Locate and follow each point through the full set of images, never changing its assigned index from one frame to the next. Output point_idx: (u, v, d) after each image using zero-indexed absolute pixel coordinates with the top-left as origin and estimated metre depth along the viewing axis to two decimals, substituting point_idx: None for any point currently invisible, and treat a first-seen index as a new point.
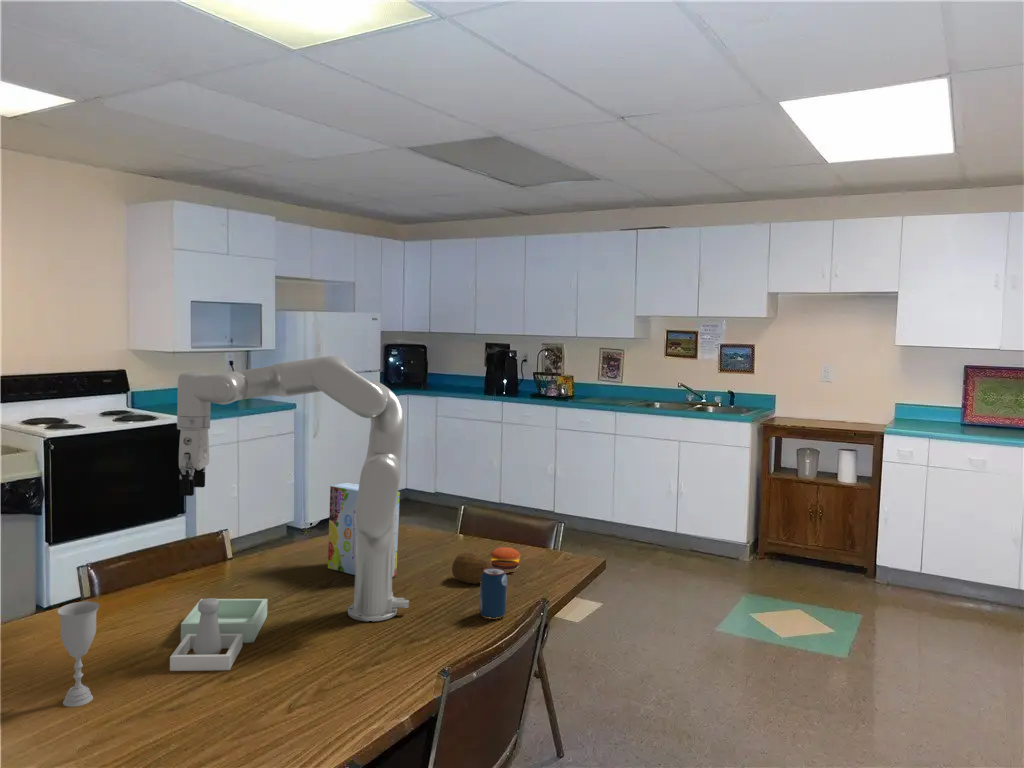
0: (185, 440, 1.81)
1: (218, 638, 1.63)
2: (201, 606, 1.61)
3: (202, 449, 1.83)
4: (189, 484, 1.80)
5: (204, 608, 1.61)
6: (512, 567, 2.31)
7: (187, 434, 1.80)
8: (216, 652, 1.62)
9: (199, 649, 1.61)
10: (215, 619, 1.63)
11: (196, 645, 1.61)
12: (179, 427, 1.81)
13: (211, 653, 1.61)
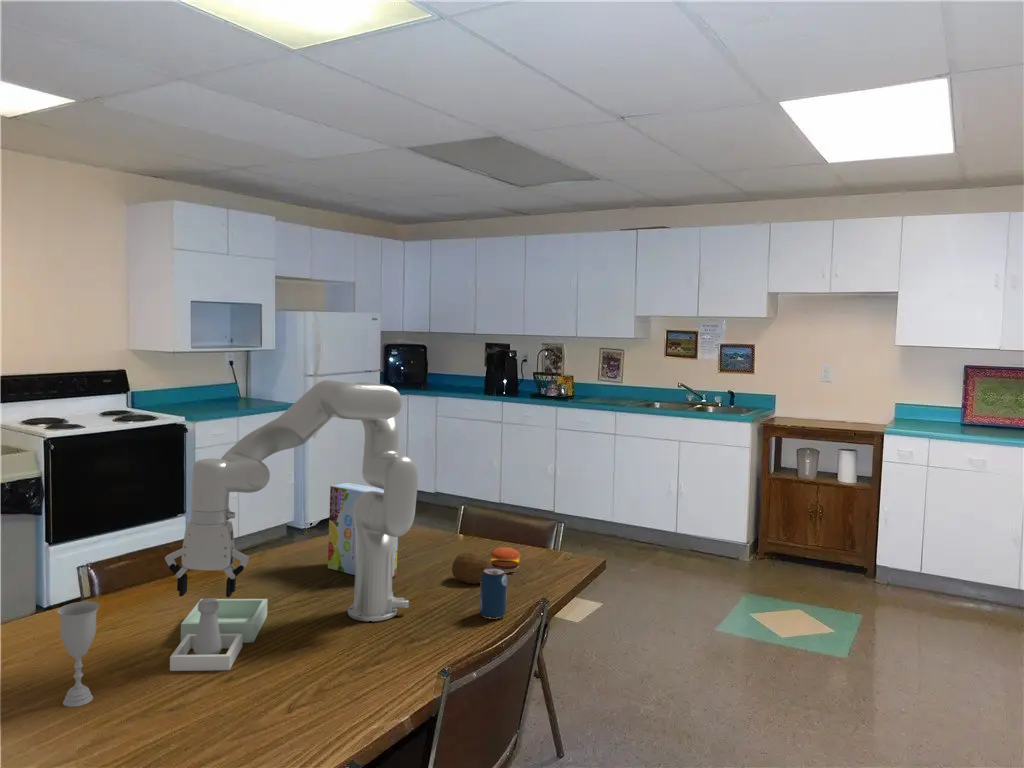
0: None
1: (218, 638, 1.63)
2: (201, 606, 1.61)
3: None
4: None
5: (204, 608, 1.61)
6: (512, 567, 2.31)
7: (230, 528, 1.62)
8: (216, 652, 1.62)
9: (199, 649, 1.61)
10: (215, 619, 1.62)
11: (196, 645, 1.61)
12: (219, 524, 1.59)
13: (211, 653, 1.61)
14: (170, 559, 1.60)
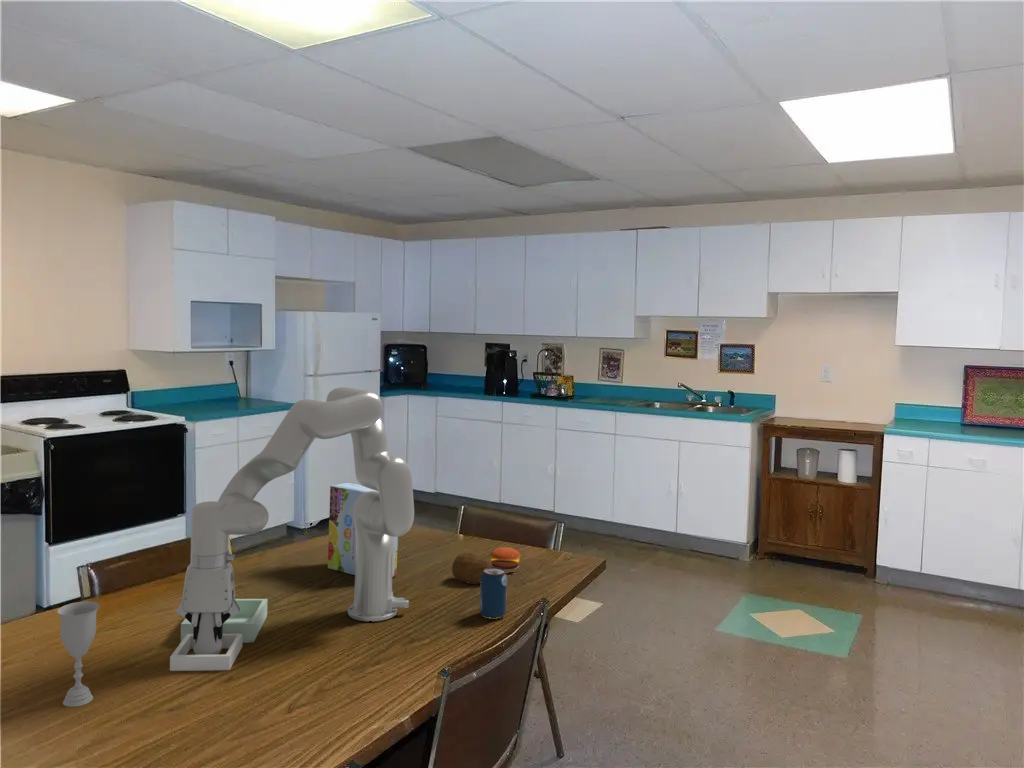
0: None
1: None
2: None
3: None
4: None
5: None
6: (512, 567, 2.31)
7: (230, 570, 1.63)
8: (216, 652, 1.62)
9: (199, 649, 1.61)
10: None
11: (196, 645, 1.61)
12: (219, 567, 1.60)
13: (211, 653, 1.61)
14: (181, 611, 1.61)
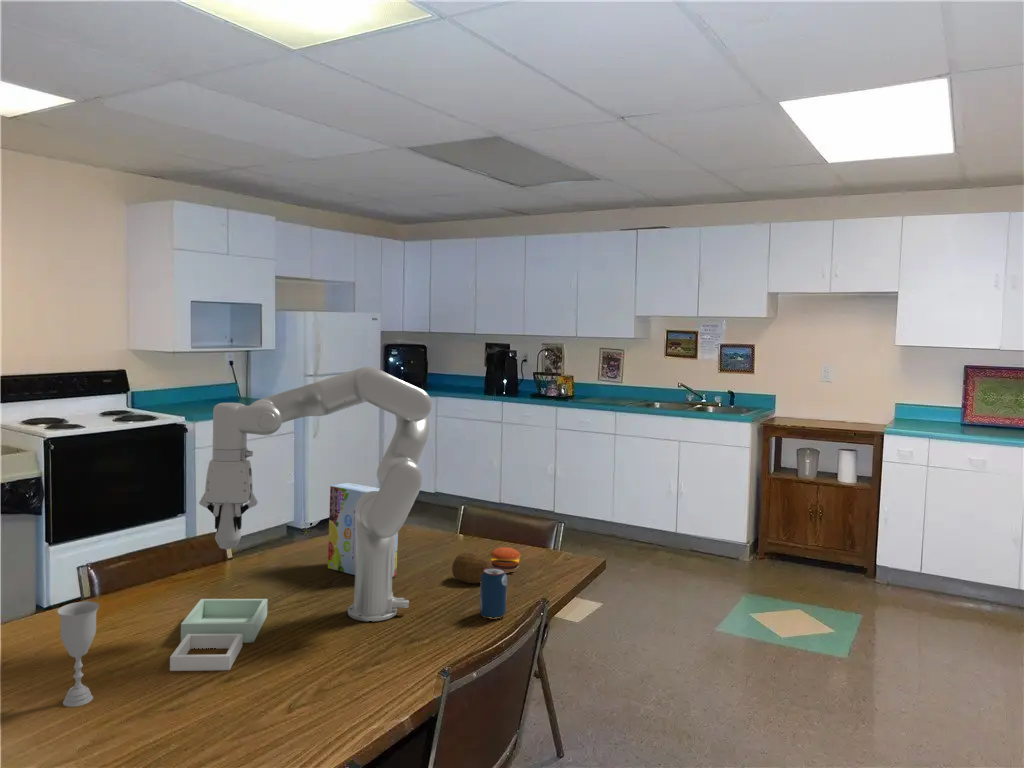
0: None
1: (237, 528, 1.77)
2: None
3: None
4: None
5: None
6: (512, 567, 2.31)
7: (249, 465, 1.77)
8: (236, 540, 1.76)
9: (220, 537, 1.75)
10: None
11: (217, 533, 1.76)
12: (238, 461, 1.74)
13: (231, 540, 1.76)
14: (204, 502, 1.76)
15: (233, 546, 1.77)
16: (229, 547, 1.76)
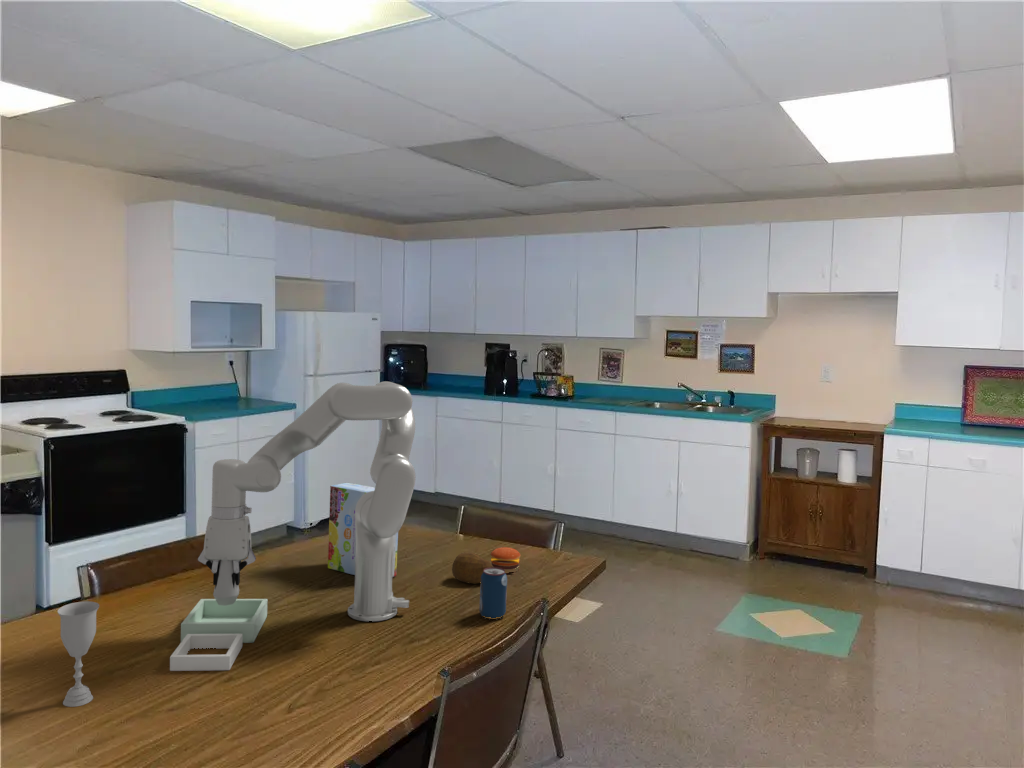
0: None
1: None
2: None
3: None
4: None
5: None
6: (512, 567, 2.31)
7: (248, 522, 1.78)
8: (234, 596, 1.77)
9: (218, 593, 1.76)
10: (233, 566, 1.78)
11: (216, 589, 1.76)
12: (237, 518, 1.75)
13: (229, 597, 1.76)
14: (203, 558, 1.77)
15: (231, 602, 1.78)
16: (227, 603, 1.77)
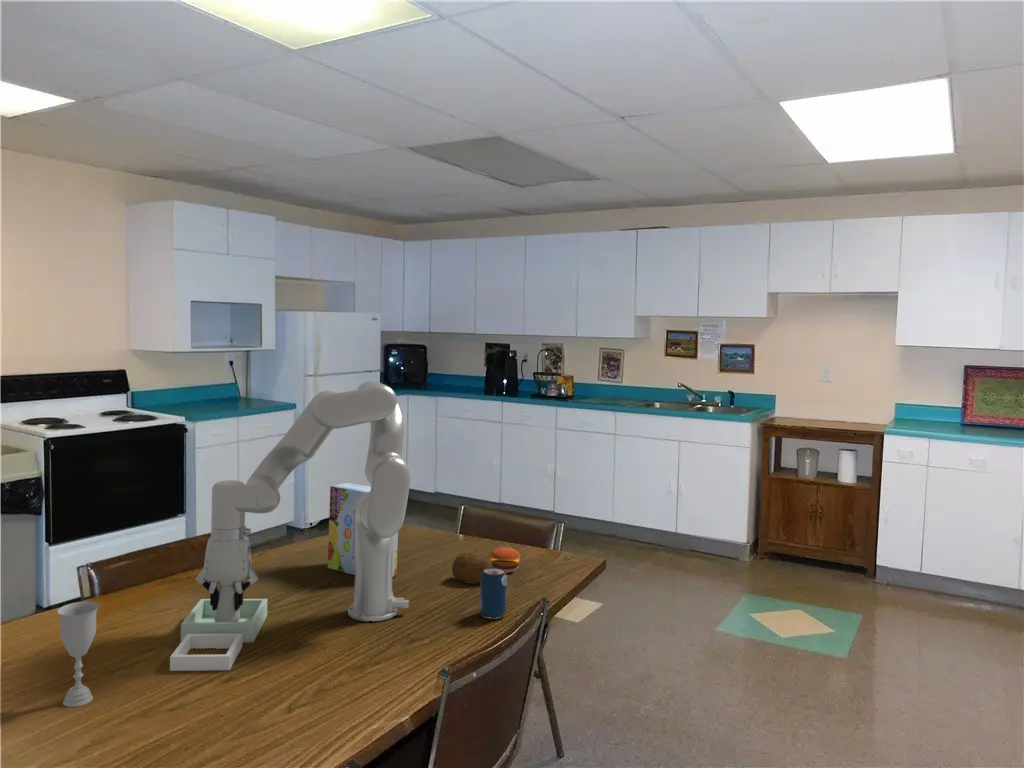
0: None
1: None
2: None
3: None
4: None
5: (224, 581, 1.76)
6: (512, 567, 2.31)
7: (247, 543, 1.78)
8: (235, 621, 1.78)
9: (219, 618, 1.76)
10: (234, 591, 1.78)
11: (216, 615, 1.77)
12: (237, 540, 1.76)
13: None
14: (200, 578, 1.77)
15: None
16: None
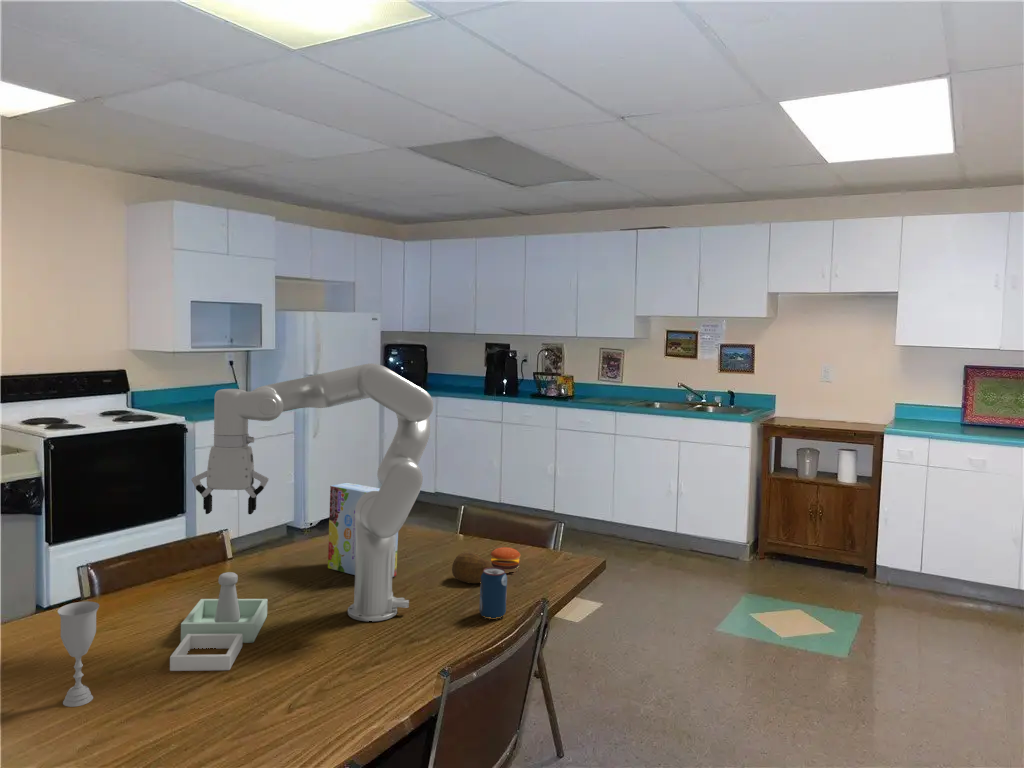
0: None
1: (237, 608, 1.79)
2: (222, 579, 1.77)
3: None
4: None
5: (224, 581, 1.76)
6: (512, 567, 2.31)
7: (250, 451, 1.77)
8: (235, 621, 1.78)
9: (219, 618, 1.76)
10: (234, 591, 1.78)
11: (217, 614, 1.77)
12: (240, 447, 1.74)
13: None
14: (196, 480, 1.75)
15: None
16: None
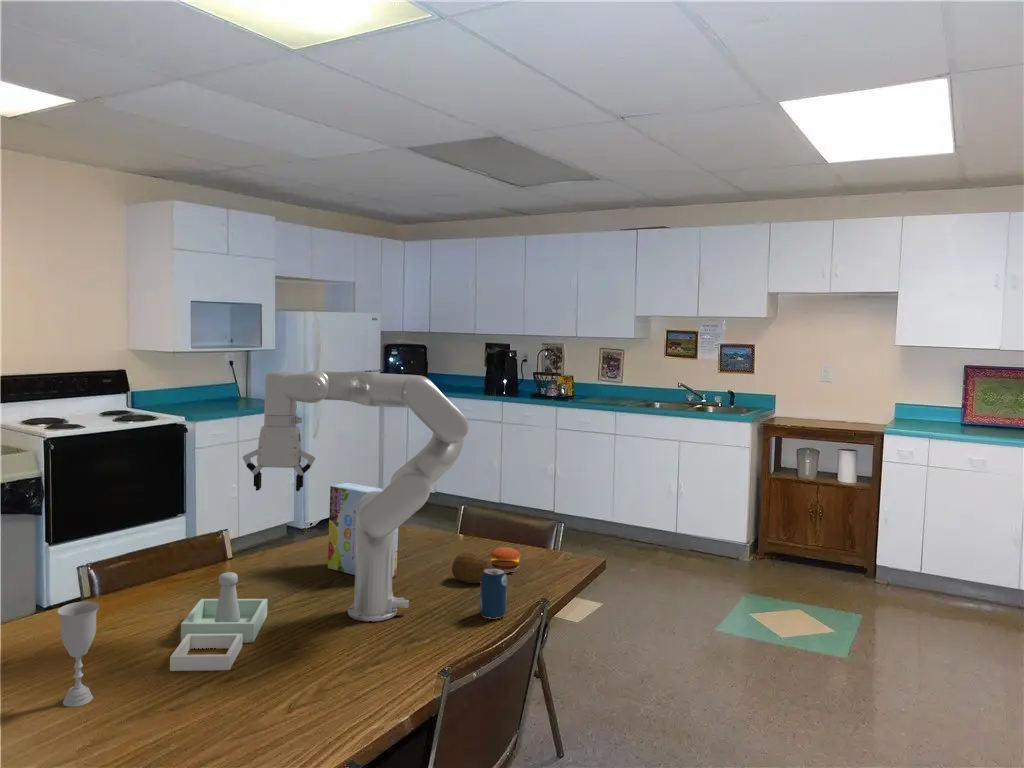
0: None
1: (237, 608, 1.79)
2: (222, 579, 1.77)
3: None
4: None
5: (224, 581, 1.76)
6: (512, 567, 2.31)
7: (298, 431, 1.86)
8: (235, 621, 1.78)
9: (219, 618, 1.76)
10: (234, 591, 1.78)
11: (217, 614, 1.77)
12: (289, 426, 1.83)
13: None
14: (247, 458, 1.84)
15: None
16: None
